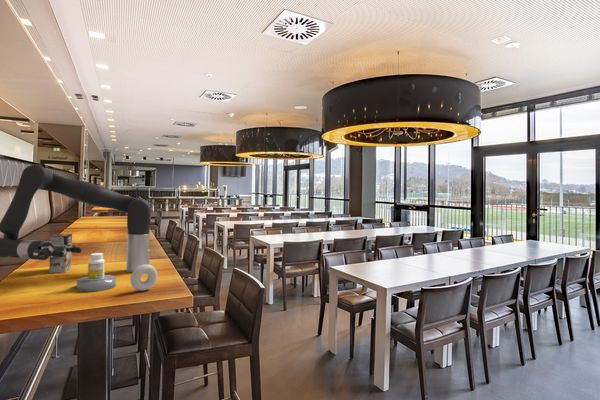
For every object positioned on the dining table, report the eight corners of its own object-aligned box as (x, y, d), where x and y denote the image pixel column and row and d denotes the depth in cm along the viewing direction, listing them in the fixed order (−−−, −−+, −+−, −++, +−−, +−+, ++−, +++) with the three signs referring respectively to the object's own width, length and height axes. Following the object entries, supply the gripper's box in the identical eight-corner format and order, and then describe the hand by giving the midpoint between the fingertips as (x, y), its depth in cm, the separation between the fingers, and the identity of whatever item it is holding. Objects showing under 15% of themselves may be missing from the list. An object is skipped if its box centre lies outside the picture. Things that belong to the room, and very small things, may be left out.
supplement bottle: (92, 277, 134) (92, 252, 134) (106, 277, 135) (107, 252, 134) (85, 280, 129) (85, 255, 128) (100, 281, 129) (100, 255, 129)
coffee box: (66, 272, 151) (67, 236, 150) (48, 273, 148) (49, 236, 148) (71, 267, 159) (72, 233, 159) (54, 268, 157) (55, 233, 156)
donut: (132, 294, 125) (133, 267, 125) (128, 292, 127) (129, 265, 127) (158, 289, 132) (159, 263, 132) (154, 287, 135) (155, 261, 135)
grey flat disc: (114, 280, 141) (114, 273, 141) (117, 289, 130) (117, 281, 130) (76, 284, 134) (77, 276, 134) (76, 293, 123) (76, 285, 123)
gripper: (18, 243, 128) (57, 245, 126) (50, 237, 142) (86, 239, 140) (18, 263, 128) (56, 265, 126) (50, 255, 142) (85, 258, 140)
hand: (72, 252), depth 133 cm, fingers open, 8 cm apart
